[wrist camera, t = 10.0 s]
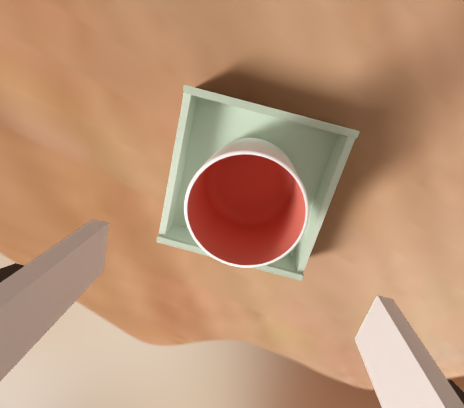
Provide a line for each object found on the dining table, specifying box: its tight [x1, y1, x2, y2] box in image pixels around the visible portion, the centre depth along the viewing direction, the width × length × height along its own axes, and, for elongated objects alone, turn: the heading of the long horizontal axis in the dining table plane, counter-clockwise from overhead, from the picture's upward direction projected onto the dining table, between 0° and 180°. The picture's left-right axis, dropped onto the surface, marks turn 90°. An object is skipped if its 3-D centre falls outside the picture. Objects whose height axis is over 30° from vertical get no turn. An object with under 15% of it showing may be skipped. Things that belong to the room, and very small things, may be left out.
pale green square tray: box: [156, 85, 360, 281], centre depth 31 cm, size 16×16×4 cm
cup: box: [184, 138, 309, 268], centre depth 28 cm, size 10×10×10 cm
